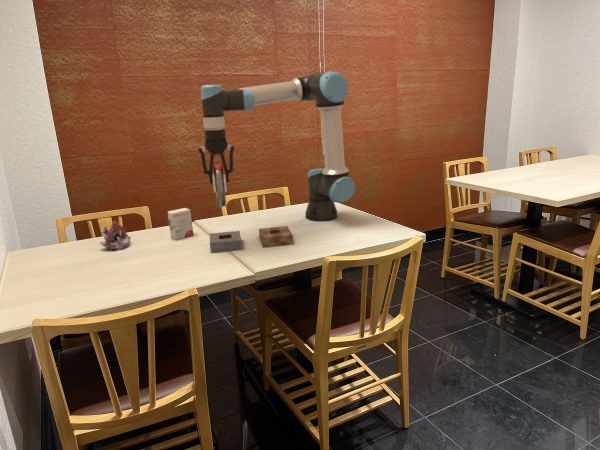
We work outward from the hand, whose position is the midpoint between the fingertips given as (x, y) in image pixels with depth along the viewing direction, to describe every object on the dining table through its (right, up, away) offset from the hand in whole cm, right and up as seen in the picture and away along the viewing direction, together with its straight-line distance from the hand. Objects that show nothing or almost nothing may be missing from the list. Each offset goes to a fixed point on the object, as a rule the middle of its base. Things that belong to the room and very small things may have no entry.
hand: (220, 191), depth 169 cm
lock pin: (0, -5, +2) cm, 6 cm away
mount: (+21, -20, +10) cm, 30 cm away
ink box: (-20, -18, +21) cm, 34 cm away
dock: (+1, -21, +7) cm, 22 cm away
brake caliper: (-44, -22, +11) cm, 51 cm away
